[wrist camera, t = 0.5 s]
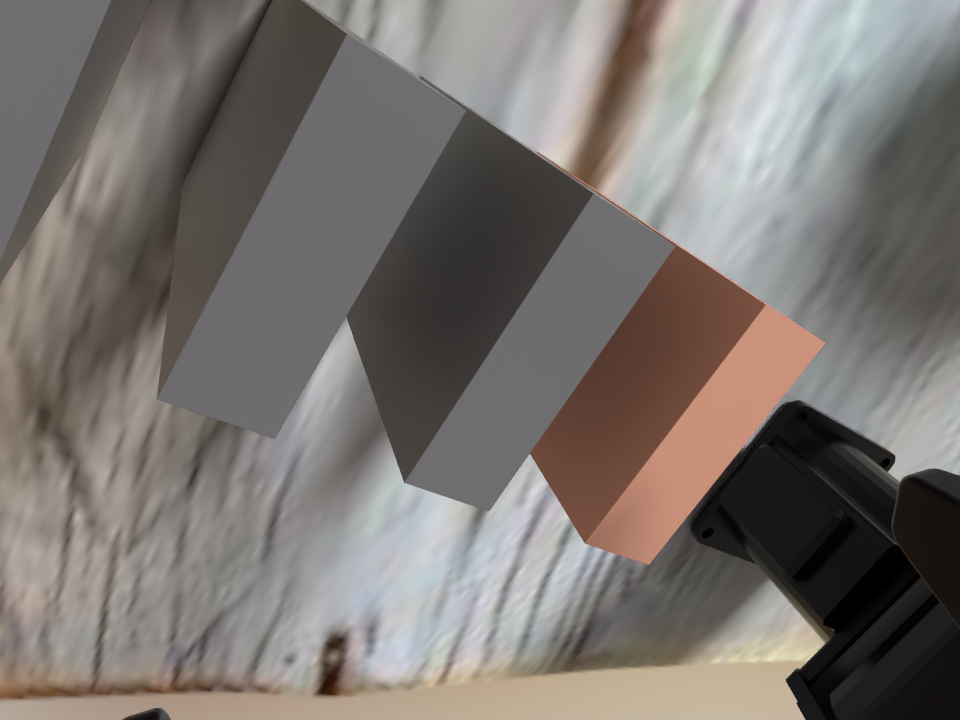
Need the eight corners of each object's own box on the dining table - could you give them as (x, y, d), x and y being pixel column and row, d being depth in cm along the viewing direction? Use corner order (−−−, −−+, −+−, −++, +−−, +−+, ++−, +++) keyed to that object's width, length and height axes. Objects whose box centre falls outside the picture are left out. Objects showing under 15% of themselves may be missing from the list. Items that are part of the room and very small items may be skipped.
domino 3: (474, 110, 19) (675, 246, 11) (376, 276, 20) (488, 511, 12) (421, 76, 18) (593, 193, 10) (323, 251, 20) (404, 483, 11)
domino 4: (581, 180, 21) (825, 343, 13) (485, 328, 22) (648, 565, 14) (537, 152, 20) (766, 304, 12) (440, 307, 22) (584, 543, 13)
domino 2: (343, 26, 17) (465, 110, 9) (247, 214, 19) (274, 439, 10) (279, -16, 17) (347, 34, 8) (182, 183, 18) (156, 399, 10)
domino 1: (185, -77, 16) (150, -92, 7) (89, 138, 17) (-32, 336, 9) (103, -130, 15) (-40, -214, 6) (10, 100, 16) (-207, 278, 8)
